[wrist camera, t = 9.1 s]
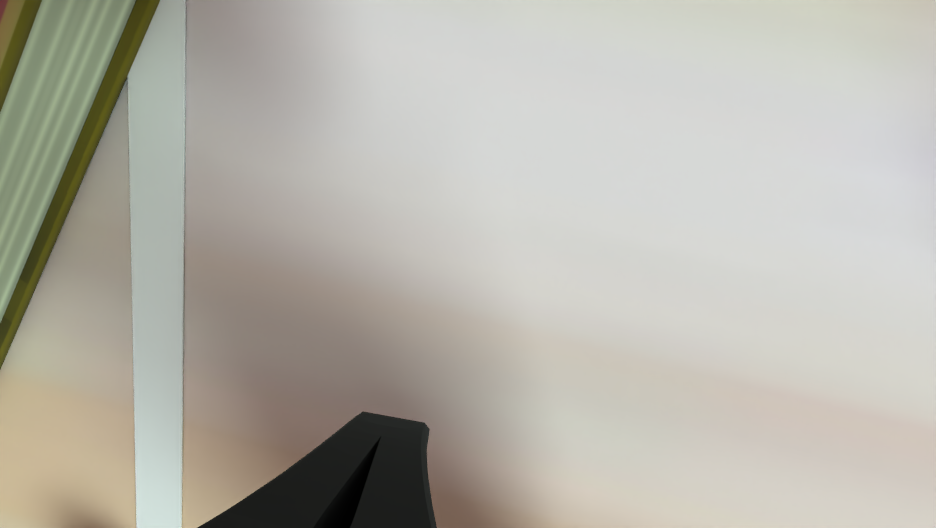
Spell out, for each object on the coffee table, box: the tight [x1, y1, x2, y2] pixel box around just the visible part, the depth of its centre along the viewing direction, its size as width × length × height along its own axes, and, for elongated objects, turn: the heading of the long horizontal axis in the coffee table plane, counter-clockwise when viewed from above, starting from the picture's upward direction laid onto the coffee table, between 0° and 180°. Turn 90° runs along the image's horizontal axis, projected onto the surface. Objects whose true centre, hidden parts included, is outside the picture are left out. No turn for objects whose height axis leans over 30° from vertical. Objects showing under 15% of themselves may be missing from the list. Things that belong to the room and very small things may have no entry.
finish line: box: [128, 0, 186, 528], centre depth 16 cm, size 36×3×4 cm, turn 171°
